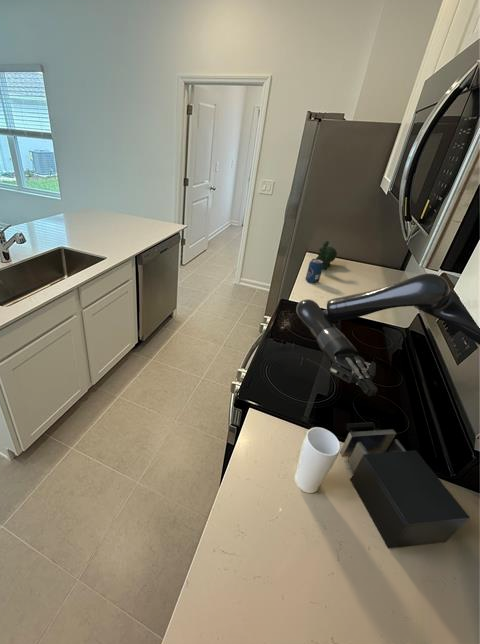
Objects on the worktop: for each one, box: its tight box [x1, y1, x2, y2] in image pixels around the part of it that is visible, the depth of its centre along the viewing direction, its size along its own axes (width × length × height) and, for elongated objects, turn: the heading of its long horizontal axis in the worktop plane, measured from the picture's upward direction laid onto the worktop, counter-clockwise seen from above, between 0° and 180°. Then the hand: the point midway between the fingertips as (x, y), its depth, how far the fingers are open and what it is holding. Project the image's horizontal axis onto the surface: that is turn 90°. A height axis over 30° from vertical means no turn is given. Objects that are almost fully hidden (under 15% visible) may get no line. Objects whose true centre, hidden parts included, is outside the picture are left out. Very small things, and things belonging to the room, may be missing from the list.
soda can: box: [305, 258, 323, 285], centre depth 163 cm, size 7×7×12 cm
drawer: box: [339, 421, 407, 472], centre depth 71 cm, size 16×11×8 cm
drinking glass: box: [294, 426, 341, 494], centre depth 67 cm, size 7×7×15 cm
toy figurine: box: [315, 240, 338, 271], centre depth 181 cm, size 9×19×25 cm
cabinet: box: [349, 449, 470, 550], centre depth 64 cm, size 14×13×10 cm
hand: (373, 393), depth 73 cm, fingers closed
